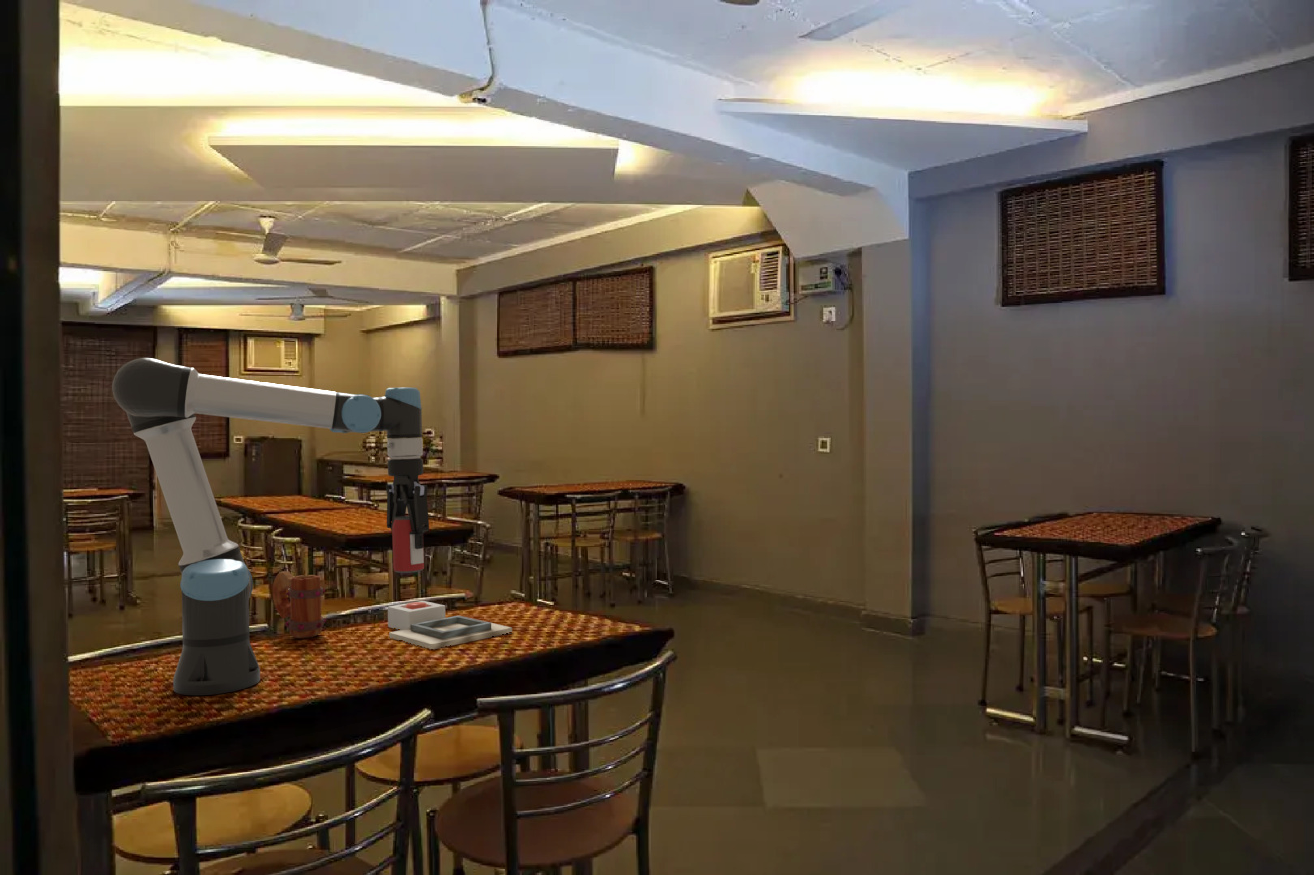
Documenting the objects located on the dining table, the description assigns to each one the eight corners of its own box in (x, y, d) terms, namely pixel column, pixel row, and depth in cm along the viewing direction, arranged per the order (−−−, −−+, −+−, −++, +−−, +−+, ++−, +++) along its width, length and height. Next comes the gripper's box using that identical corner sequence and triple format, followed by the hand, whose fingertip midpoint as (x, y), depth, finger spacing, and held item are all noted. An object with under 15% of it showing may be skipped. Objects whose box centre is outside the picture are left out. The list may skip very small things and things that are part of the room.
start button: (413, 621, 227) (413, 606, 227) (402, 618, 230) (402, 604, 230) (430, 617, 231) (430, 603, 231) (419, 615, 234) (419, 601, 234)
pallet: (431, 649, 206) (431, 637, 206) (389, 637, 218) (389, 626, 218) (512, 632, 222) (511, 621, 222) (468, 622, 234) (468, 611, 234)
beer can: (391, 570, 208) (389, 516, 208) (421, 567, 210) (419, 514, 210) (395, 574, 202) (394, 518, 202) (426, 571, 204) (425, 516, 204)
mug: (334, 634, 223) (332, 571, 222) (306, 642, 215) (305, 576, 215) (290, 629, 229) (289, 568, 229) (263, 636, 222) (261, 573, 222)
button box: (409, 632, 223) (409, 611, 223) (388, 626, 230) (387, 606, 230) (445, 625, 231) (445, 605, 231) (423, 620, 238) (423, 600, 238)
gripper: (367, 458, 210) (371, 560, 210) (413, 458, 196) (416, 568, 196) (398, 456, 215) (401, 556, 216) (444, 457, 201) (447, 563, 202)
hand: (408, 561), depth 206 cm, fingers closed on beer can, 6 cm apart
